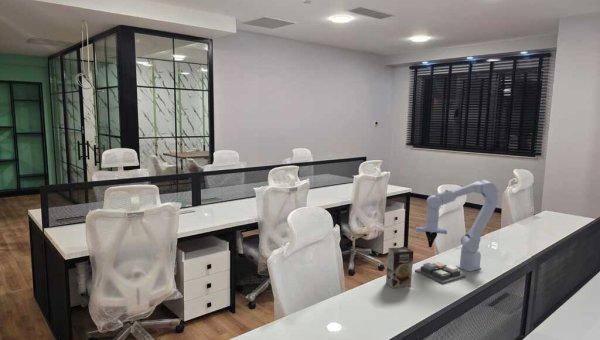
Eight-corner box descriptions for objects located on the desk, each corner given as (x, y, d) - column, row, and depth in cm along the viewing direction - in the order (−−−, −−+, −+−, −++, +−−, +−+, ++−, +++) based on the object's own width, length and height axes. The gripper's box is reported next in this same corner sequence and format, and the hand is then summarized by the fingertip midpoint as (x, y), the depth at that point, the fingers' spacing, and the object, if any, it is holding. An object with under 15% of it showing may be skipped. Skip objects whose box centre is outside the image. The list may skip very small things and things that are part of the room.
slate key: (428, 266, 195) (429, 262, 194) (435, 269, 191) (435, 265, 191) (423, 268, 192) (423, 264, 192) (429, 271, 189) (430, 266, 189)
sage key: (440, 273, 189) (440, 269, 189) (447, 276, 185) (448, 272, 185) (434, 275, 187) (435, 271, 186) (441, 278, 183) (442, 274, 183)
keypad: (437, 265, 202) (438, 260, 202) (465, 277, 189) (466, 271, 188) (415, 271, 194) (415, 266, 193) (442, 284, 180) (443, 278, 180)
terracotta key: (438, 266, 198) (438, 262, 198) (445, 268, 195) (445, 265, 195) (432, 267, 196) (433, 263, 196) (439, 270, 193) (440, 266, 193)
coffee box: (392, 288, 174) (394, 252, 172) (385, 282, 180) (387, 247, 178) (411, 287, 176) (414, 251, 174) (403, 280, 183) (406, 246, 180)
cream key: (450, 268, 192) (451, 264, 192) (457, 271, 189) (458, 267, 189) (445, 270, 190) (445, 266, 190) (452, 273, 187) (452, 269, 187)
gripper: (417, 220, 197) (415, 247, 199) (448, 223, 194) (446, 250, 196) (416, 217, 204) (414, 243, 206) (447, 219, 201) (444, 246, 203)
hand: (430, 246), depth 202 cm, fingers closed
